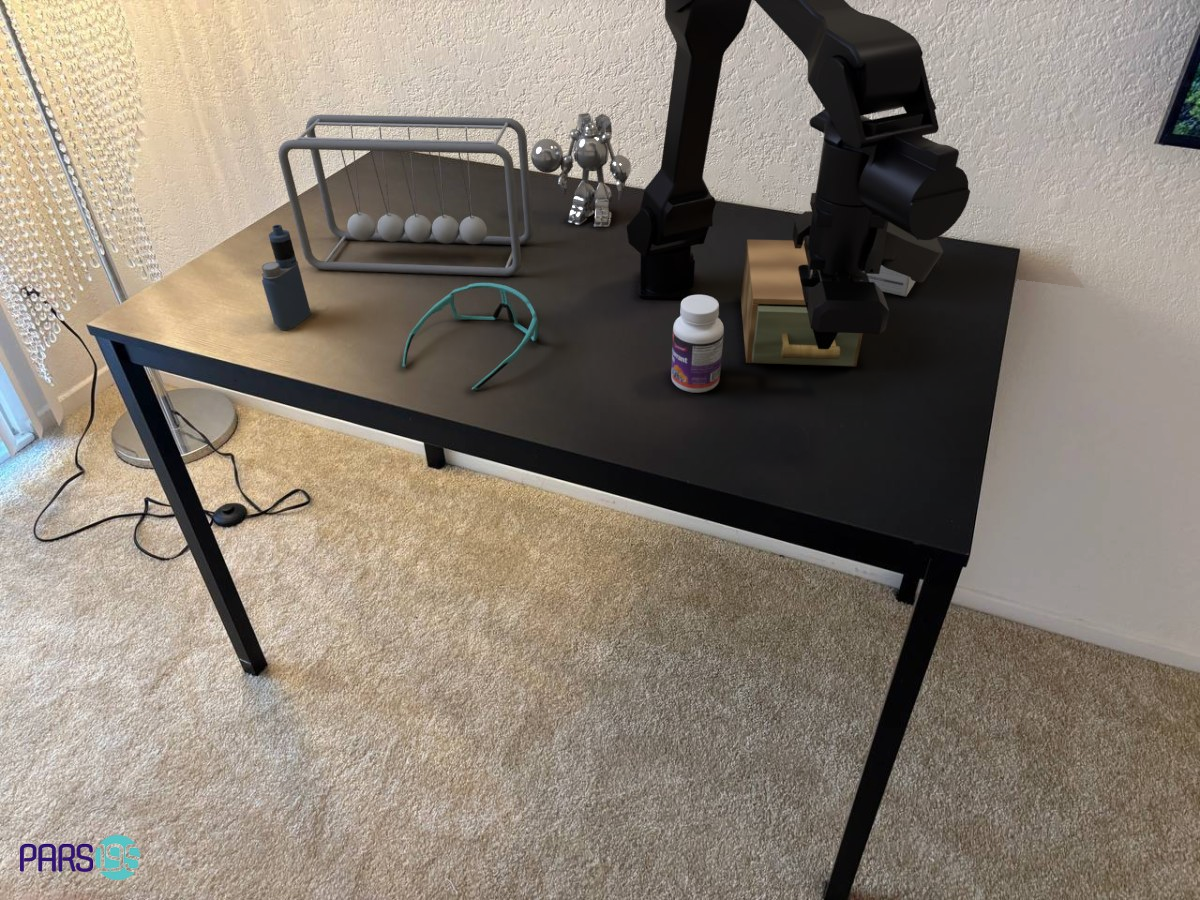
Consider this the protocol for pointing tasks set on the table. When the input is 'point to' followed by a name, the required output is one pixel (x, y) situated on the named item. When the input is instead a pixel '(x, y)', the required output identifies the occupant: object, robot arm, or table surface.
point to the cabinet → (771, 283)
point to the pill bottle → (697, 344)
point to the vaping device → (284, 283)
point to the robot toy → (585, 167)
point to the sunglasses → (511, 315)
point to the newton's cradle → (415, 225)
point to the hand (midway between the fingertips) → (823, 347)
